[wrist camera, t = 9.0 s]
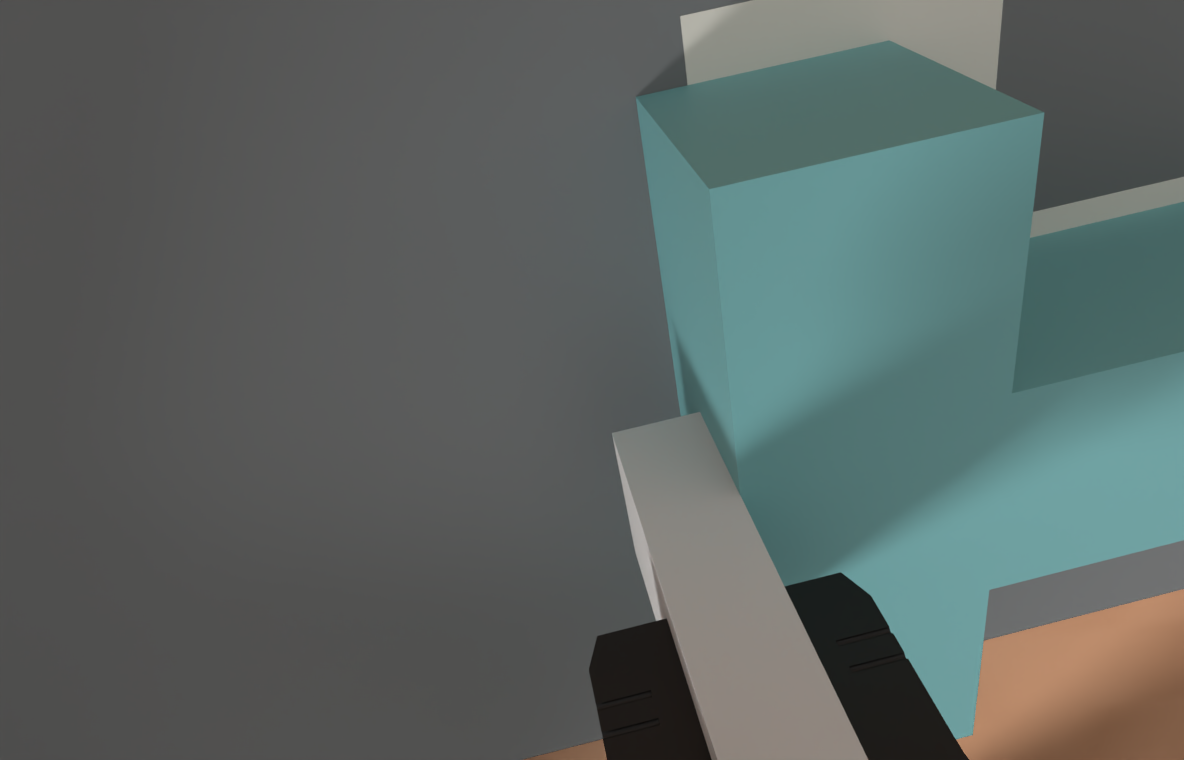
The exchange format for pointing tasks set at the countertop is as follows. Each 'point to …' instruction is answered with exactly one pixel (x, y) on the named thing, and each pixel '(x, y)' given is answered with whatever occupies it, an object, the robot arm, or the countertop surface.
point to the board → (404, 346)
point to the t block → (914, 340)
